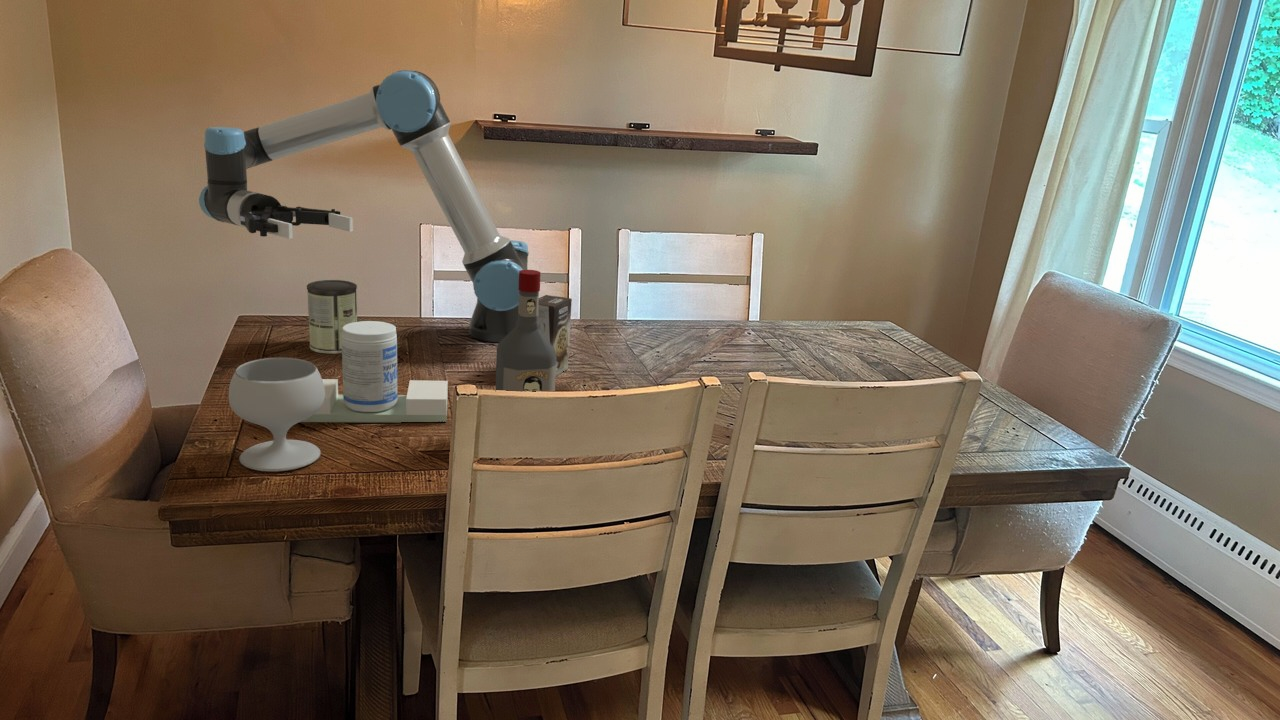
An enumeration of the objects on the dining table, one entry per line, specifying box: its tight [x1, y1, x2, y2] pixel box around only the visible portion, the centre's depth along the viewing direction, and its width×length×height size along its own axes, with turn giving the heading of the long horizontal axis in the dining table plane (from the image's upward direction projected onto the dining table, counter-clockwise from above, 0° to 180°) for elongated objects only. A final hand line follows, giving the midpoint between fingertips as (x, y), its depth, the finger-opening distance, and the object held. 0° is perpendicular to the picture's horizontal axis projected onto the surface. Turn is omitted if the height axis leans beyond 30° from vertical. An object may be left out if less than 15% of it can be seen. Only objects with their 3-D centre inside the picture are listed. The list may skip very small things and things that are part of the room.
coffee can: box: [306, 279, 358, 355], centre depth 196 cm, size 10×10×14 cm
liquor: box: [495, 269, 557, 392], centre depth 154 cm, size 9×9×30 cm
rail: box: [299, 378, 449, 423], centre depth 163 cm, size 27×10×4 cm, turn 100°
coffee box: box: [538, 294, 573, 377], centre depth 191 cm, size 9×6×16 cm
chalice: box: [227, 357, 325, 472], centre depth 141 cm, size 14×14×15 cm
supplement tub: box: [341, 320, 398, 412], centre depth 161 cm, size 10×10×15 cm
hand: (322, 227), depth 171 cm, fingers open, 13 cm apart
